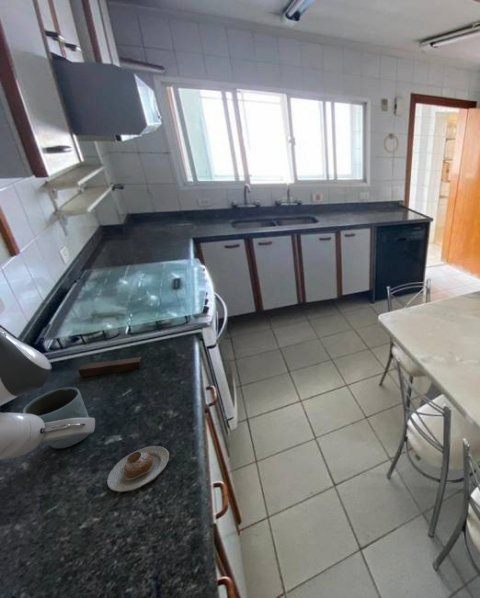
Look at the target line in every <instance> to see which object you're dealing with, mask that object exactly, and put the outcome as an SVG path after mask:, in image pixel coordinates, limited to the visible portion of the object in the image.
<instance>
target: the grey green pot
mask: <svg viewBox="0 0 480 598" xmlns="http://www.w3.org/2000/svg"><path fill="white" fill-rule="evenodd" d="M22 413H26V414H33V415H36V416H38V417H40V418H41V419H42V420H43V422H44V423H47V422H53V421H59V420H64V419H71V418H91V417H90V415H89V414H88V410H87V407H86V405H85V402H84V399H83V397H82V393H81V392H80V390H79V389H78V388H77V387H70V386H68V387H61V388H57V389H54V390H53V389H52V390H51V391H50V390H49V391H47V392H46V393H43V394H41V395H40V396H38V397H35V398H34V399H32V400H30V401H29V403H27V404H26V405H25V406H24V408H23V409H22ZM89 435H90V434H87V435H82V436H77V437H72V438H66V439H61V440H56V441H51V442H47V444H48V445H49V446H50V447H51V448H54V449H65V448H68V447H71V446H73V445H76V444H78V443H80V442H81V441H83V440H85V439H86V438H87V437H89Z"/></svg>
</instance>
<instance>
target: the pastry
mask: <svg viewBox="0 0 480 598" xmlns="http://www.w3.org/2000/svg"><path fill="white" fill-rule="evenodd" d="M169 460H170V452H169V451H168V450H167V449H166V448H165V447H163V446H157V445H149V446H146V447H143V448H140V449H138V450H136V451H133V452H131V453H130V454H128V455H126V456H125V457H123V458H122V459H120V460H119V462H117V463H116V464H115V465H114V467H113V468H112V469H111V470H110V472H109V474H108V477H107V480H106V484H107V487H108V488H109V489H110V490H111V491H113V492H117V493H121V492H133V491H135V490H138V489H140V488H141V487H143V486H146V485H148V484H150V483H152V482H153V481H155V480H156V479H157V478H158V477H159V475H160V474H161V473H162V472H163V471H164V469H165V468H166V466H167V464H168V463H169Z"/></svg>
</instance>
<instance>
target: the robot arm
mask: <svg viewBox="0 0 480 598" xmlns="http://www.w3.org/2000/svg"><path fill="white" fill-rule="evenodd" d="M52 366H53V365H52V364H51V362H50V360H48V358H47V357H46V355H44V354H43V353H42V352H40V351H39V350H37V349H35V347H33V346H31V345H29V344H28V343H26V342H24V341H23V340H22V339H20V338H18V337H17V336H16V335H15V334H13V333H12V332H11V331H9V330H8V329H7V328H6V327H4V326H3V325H1V324H0V407H1V406H3V405H5V404H7V403H9V402H12V400H14V399H17V398H18V397H19V398H20V397H22V396H25V395H27V394H29V393H31V392H34V391H37V390H39V389H40V388H43V387H44V386H45V384H46V383H47V382H48V380H49V378H50V375H51V372H52V369H53V367H52ZM95 428H96V419H95V417H90V418H71V419H64V420H59V421H53V422H47V423H44V422H43V420H42V419H41V418H40V417H38V416H36V415H33V414H26V413H23V412H0V461H3V460H11V459H17V458H20V457H23V456H25V455H28V454H29V453H31V452H32V451H33V450H35V449H36V448H37V447H38V446H39V445H40V444H44V443H48V442H51V441H56V440H61V439H66V438H72V437H77V436H82V435H87V434H89V435H91V434H93V433H94V432H95Z"/></svg>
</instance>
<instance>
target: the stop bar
mask: <svg viewBox="0 0 480 598" xmlns="http://www.w3.org/2000/svg"><path fill="white" fill-rule="evenodd" d="M142 366H143V360H142V357H141V356H138V357H131V358H123V359H114V360H108V361H107V360H106V361H100V362H99V361H98V362H92V363H91V362H90V363H85V364H81V365H80V367H79V368H78V369H77V372H78V373H79V376H80V378H86V377H94V376H101V375H107V374H108V375H109V374H115V373H121V372H126V371H133V370H137V369H141V367H142Z"/></svg>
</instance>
